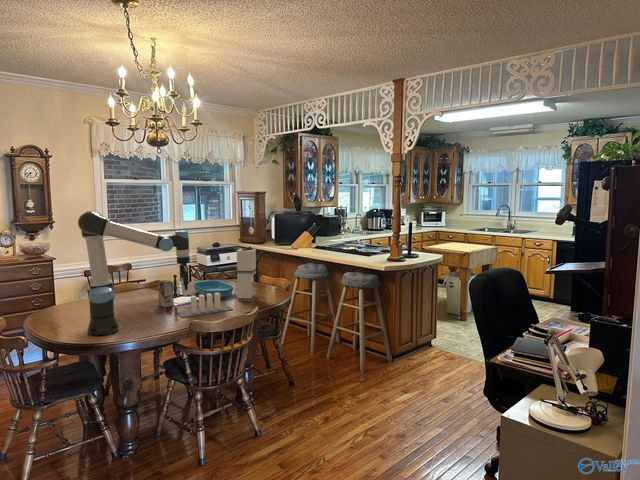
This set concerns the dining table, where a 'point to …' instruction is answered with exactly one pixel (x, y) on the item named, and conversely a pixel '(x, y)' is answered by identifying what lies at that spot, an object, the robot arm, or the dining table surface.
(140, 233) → the robot arm
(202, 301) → the domino
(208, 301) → the domino
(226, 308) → the runner mat
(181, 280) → the domino
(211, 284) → the casserole dish
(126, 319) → the dining table surface
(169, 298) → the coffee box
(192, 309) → the domino
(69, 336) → the dining table surface
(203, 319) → the dining table surface
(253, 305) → the dining table surface
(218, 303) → the domino
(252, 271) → the gray square tower
